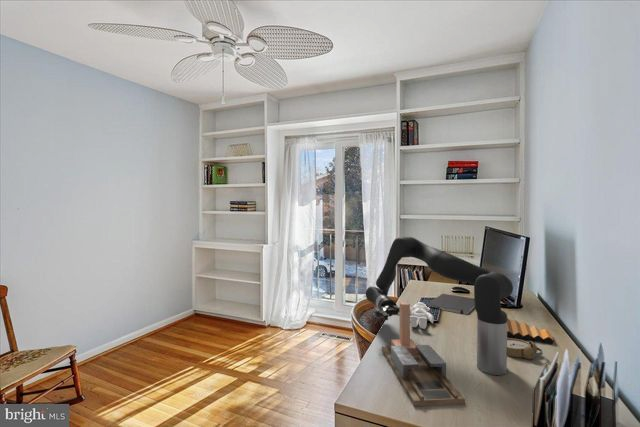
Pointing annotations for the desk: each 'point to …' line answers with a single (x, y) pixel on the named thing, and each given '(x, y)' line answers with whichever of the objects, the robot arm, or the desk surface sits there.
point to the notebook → (453, 303)
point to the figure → (420, 315)
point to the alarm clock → (522, 349)
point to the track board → (426, 384)
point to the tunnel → (406, 360)
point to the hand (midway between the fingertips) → (397, 317)
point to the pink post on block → (405, 330)
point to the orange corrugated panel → (527, 332)
